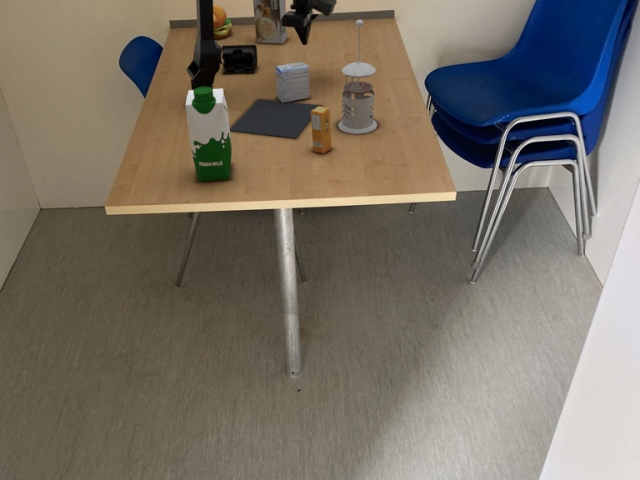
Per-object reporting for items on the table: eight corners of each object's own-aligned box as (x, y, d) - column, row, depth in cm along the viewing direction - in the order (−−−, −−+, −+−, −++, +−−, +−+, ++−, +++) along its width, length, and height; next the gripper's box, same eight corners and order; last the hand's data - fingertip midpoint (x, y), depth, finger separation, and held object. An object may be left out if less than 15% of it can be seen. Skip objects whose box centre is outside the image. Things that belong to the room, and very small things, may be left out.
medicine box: (303, 93, 187) (302, 61, 181) (309, 98, 184) (309, 66, 178) (276, 98, 185) (275, 65, 179) (282, 103, 182) (281, 70, 176)
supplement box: (320, 145, 163) (319, 105, 156) (331, 149, 161) (331, 108, 154) (311, 150, 161) (310, 110, 154) (323, 154, 159) (322, 113, 152)
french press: (345, 136, 166) (346, 29, 149) (330, 117, 174) (329, 14, 158) (383, 129, 167) (387, 23, 151) (366, 111, 176) (369, 8, 159)
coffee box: (288, 37, 222) (285, -16, 211) (282, 44, 217) (279, -10, 207) (261, 36, 224) (258, -17, 214) (255, 43, 220) (251, -11, 209)
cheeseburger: (240, 31, 229) (233, 2, 221) (223, 48, 224) (215, 20, 216) (216, 27, 233) (208, -2, 225) (198, 44, 228) (190, 15, 220)
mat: (295, 138, 166) (295, 137, 166) (229, 130, 171) (228, 130, 171) (321, 106, 180) (321, 105, 180) (258, 99, 185) (258, 99, 185)
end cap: (258, 64, 205) (256, 41, 201) (256, 73, 200) (254, 49, 195) (225, 65, 206) (223, 42, 201) (222, 74, 201) (219, 50, 196)
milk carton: (194, 183, 152) (180, 96, 138) (197, 164, 158) (184, 79, 145) (233, 181, 151) (223, 93, 138) (234, 162, 158) (225, 76, 145)
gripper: (321, -7, 166) (322, 58, 176) (343, -27, 179) (343, 35, 189) (278, -9, 169) (282, 55, 179) (303, -28, 182) (305, 32, 192)
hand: (304, 44), depth 185 cm, fingers closed
